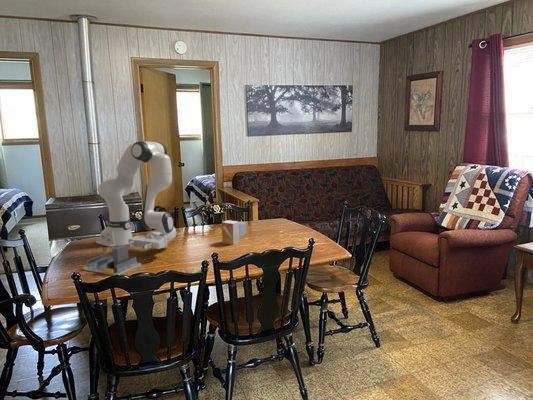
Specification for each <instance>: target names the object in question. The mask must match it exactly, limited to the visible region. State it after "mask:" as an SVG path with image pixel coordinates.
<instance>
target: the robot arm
mask: <svg viewBox="0 0 533 400" xmlns="http://www.w3.org/2000/svg"><path fill="white" fill-rule="evenodd" d="M142 162H143V163H149V164H150V166H151V167H150V168H151V170H150V173H151V174H150V175H151V177H150V179H149V180H150V181H149V183H148V184H147V185H146V187H145V191H144V192H145V194H144V199H143V200H144V201H143V202H144V203H143V208H142V213H141V216H140V223H141V225H142V227H143V228H144V229H146V230H152V231H150V232H148V233H146V235H145V236H143V235H137V236H136V235H135V236H133V233H132V229H131V228H132V227H131V223H132V222H131V219H130V211H129V210H130V209H129V206H128V205H127V203H126V202H125V201H124V199H123V197H124V196H128V195H129V194H131V193H133V192H134V190H135V188H136V183H135V177H136V175H137V173H138V170H139V169H140V167H141V165H142ZM116 172H117V175H116V177H114V178H113V179H112V178H111V179H106V180H105V181H103V182H100V184H99V185H98V188H97V189H98V190H97V192H98V195H99V196H100V197H101V198H102V199H104V201H105V202H106V204H107V207H108V214H109V220H107V221H106V224H107V226H106V227H105V228H104V229H103V230H102V231H101V232H100V233H99V239H97V240H96V241H95V243H96V244H99V245H102V246H105V247H110V248H111V247H112V248H113V247H118V246H121V245H128V248H132V247H133V246H134V247H139V248H141V247H142V250H147V249H156V250H161V249H164V248H166V247H168V243H169V242H171V241H173V240H175V238H176V236H177V229H176V227H175V226H174V224H175V223H174V218H173V215H172V214H171V213H170V212H168V211H166V212H154V207H155V201H156V198H157V197H156V196H157V195H158V194H159V193H161V192H163V191H165V190H167V189H168V188H170V186H171V185H172V182H173V174H172V173H173V169H172V161H171V157H170V156H169V155H168V148H167V146H166V145H165V144H163V143H161V142H156V141H142V140H140V141H136V142H132V143H130V144H129V146H128V147H127V148H126V149H125V151H124V153H123V154H122V156H121V158H120V160H119V162H118V163H117V166H116ZM154 229H155V230H154Z"/></svg>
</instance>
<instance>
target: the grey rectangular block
mask: <svg viewBox="0 0 533 400" xmlns="http://www.w3.org/2000/svg"><path fill="white" fill-rule="evenodd" d="M111 250H112V256H113V263H114V269H116V268H115V265H117V264H119V263H121V262H124V261H126V260H128V259H130V258H129V247H128V244H127V245H120V246H114V247H112V249H111Z"/></svg>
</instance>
